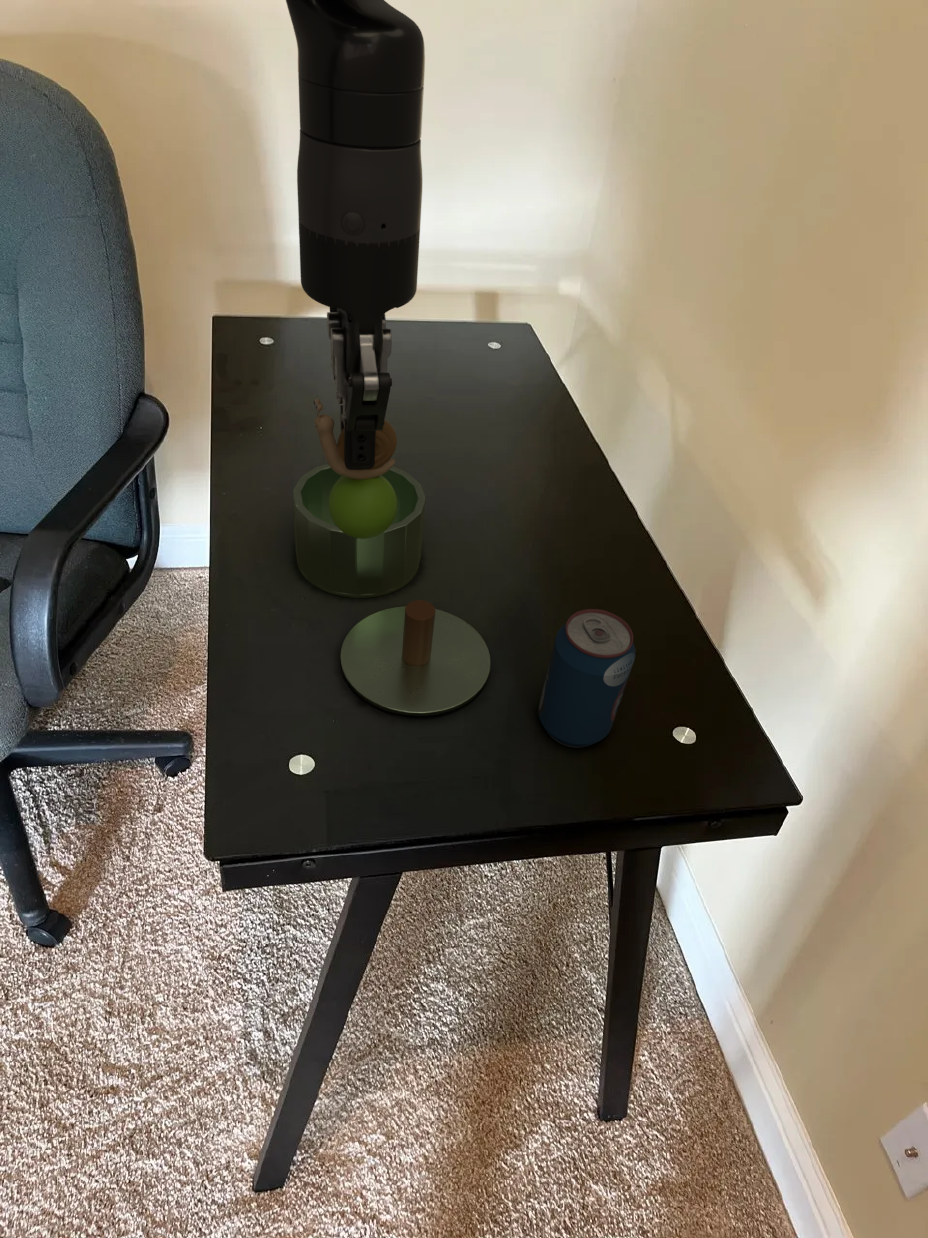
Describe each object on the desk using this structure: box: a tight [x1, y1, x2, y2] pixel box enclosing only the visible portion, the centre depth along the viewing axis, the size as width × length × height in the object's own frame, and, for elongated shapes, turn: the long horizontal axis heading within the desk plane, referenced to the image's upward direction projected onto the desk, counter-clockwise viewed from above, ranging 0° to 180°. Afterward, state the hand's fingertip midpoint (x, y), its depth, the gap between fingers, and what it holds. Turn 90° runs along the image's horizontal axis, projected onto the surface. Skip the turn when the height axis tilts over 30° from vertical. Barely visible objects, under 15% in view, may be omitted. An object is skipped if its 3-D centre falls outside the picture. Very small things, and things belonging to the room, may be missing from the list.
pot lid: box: [339, 599, 491, 717], centre depth 79 cm, size 15×15×7 cm
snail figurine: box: [313, 398, 398, 539], centre depth 63 cm, size 5×6×12 cm
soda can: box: [537, 608, 636, 749], centre depth 73 cm, size 7×7×12 cm
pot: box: [292, 463, 427, 599], centre depth 89 cm, size 14×14×8 cm
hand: (357, 457), depth 63 cm, fingers closed on snail figurine
